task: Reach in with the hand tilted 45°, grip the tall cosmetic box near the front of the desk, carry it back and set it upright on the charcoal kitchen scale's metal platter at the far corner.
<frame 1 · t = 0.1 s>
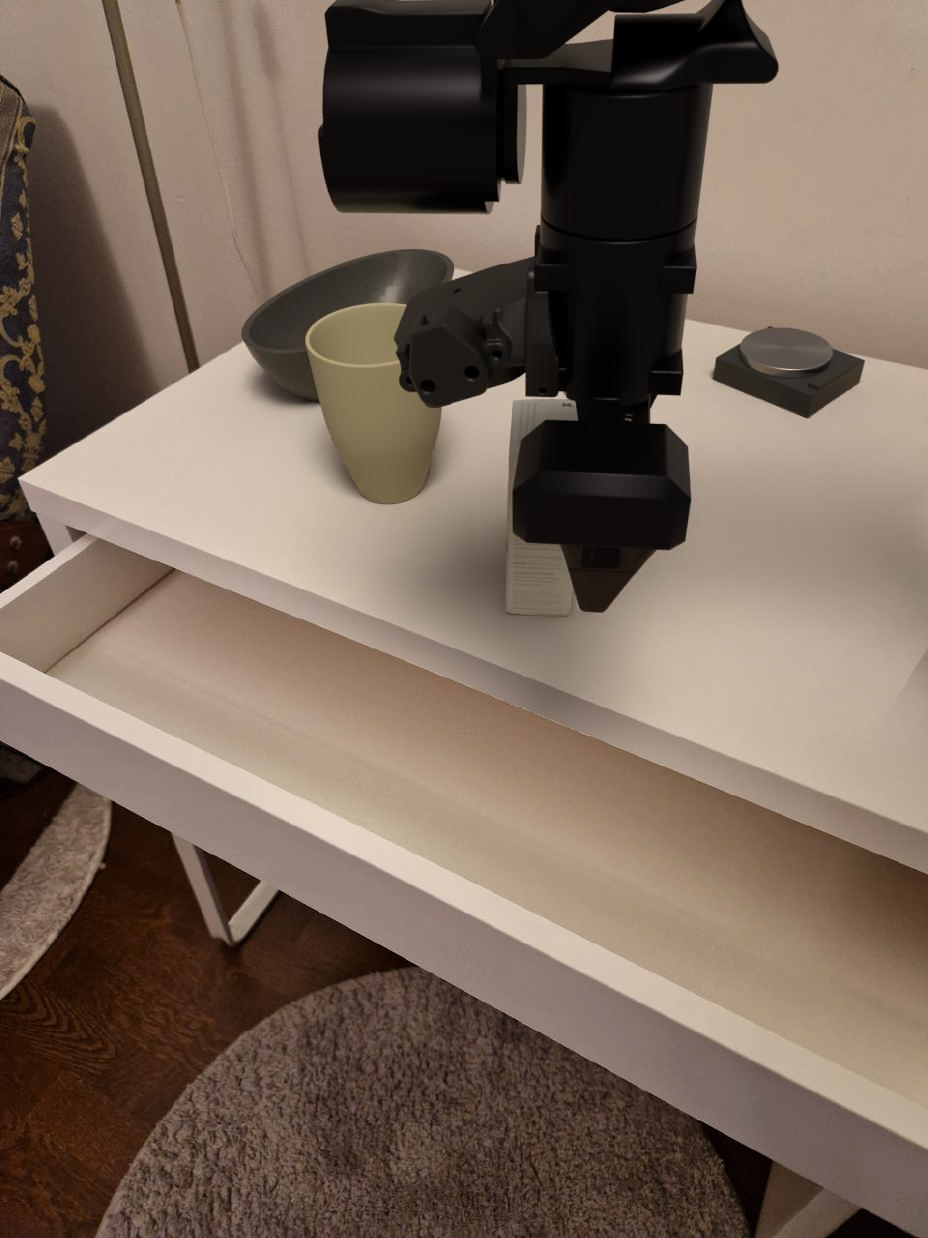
hand: (595, 545, 46), 12 cm above the table, tool pointing down, fingers open, 9 cm apart
olive green cup: (386, 479, 72), on the table
bowl: (361, 366, 85), on the table
cosmetic box: (542, 589, 62), on the table
scale: (785, 380, 80), on the table
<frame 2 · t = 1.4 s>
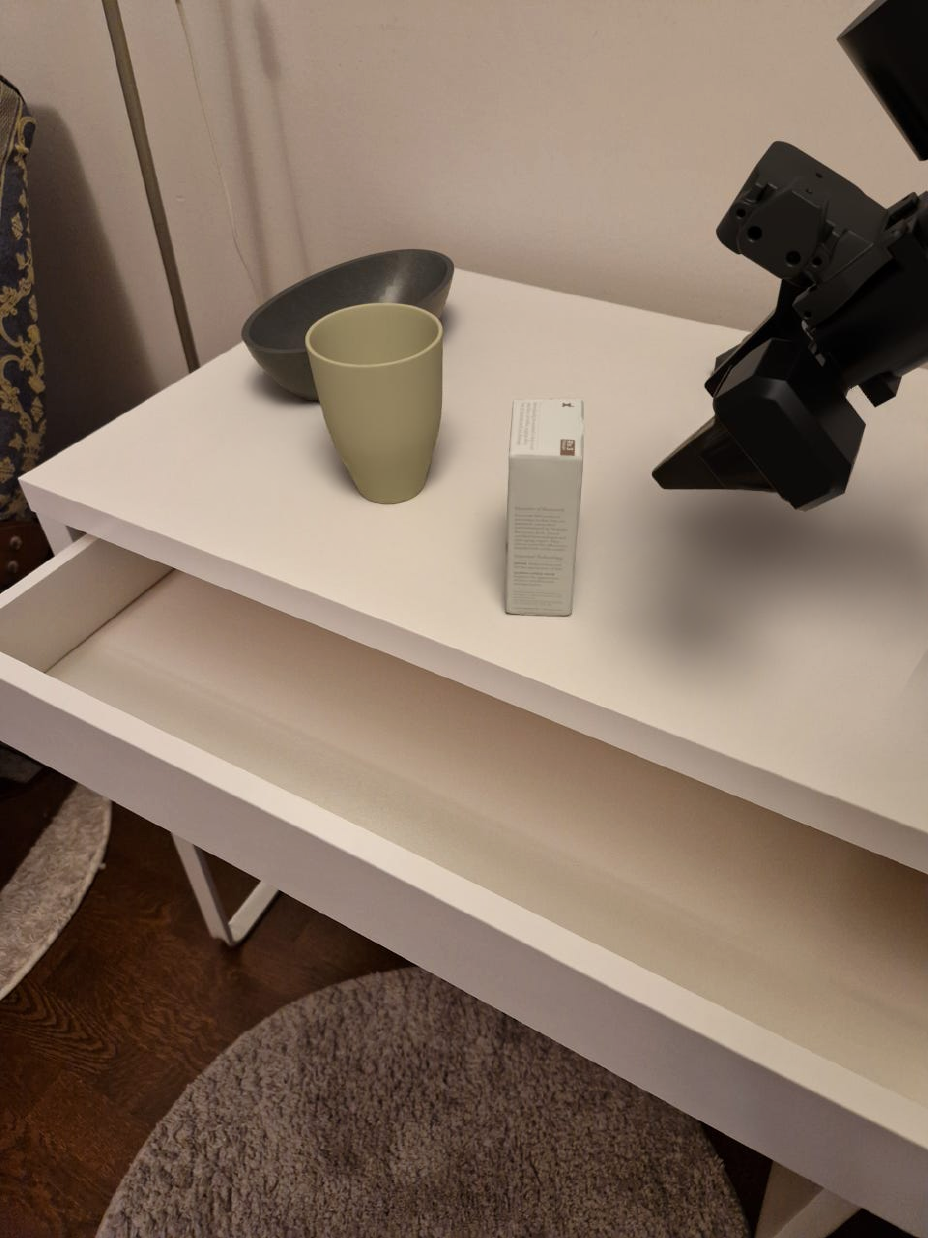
hand: (684, 433, 50), 13 cm above the table, tool tilted 45°, fingers open, 9 cm apart
nothing on the table moved.
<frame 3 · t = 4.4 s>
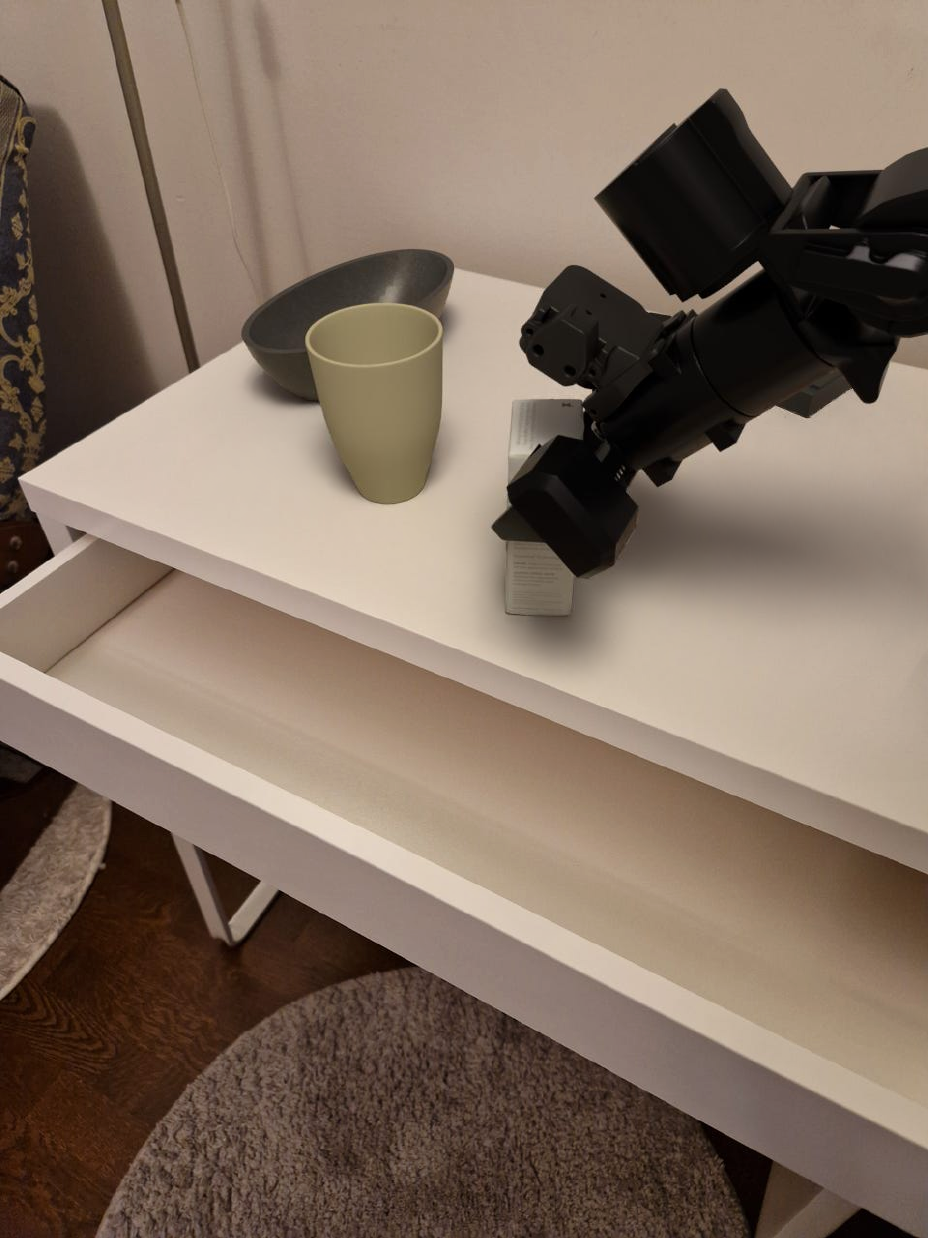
hand: (522, 498, 58), 7 cm above the table, tool tilted 45°, fingers closed on cosmetic box, 7 cm apart
cosmetic box: (542, 589, 62), on the table, touching gripper
everything else where it was.
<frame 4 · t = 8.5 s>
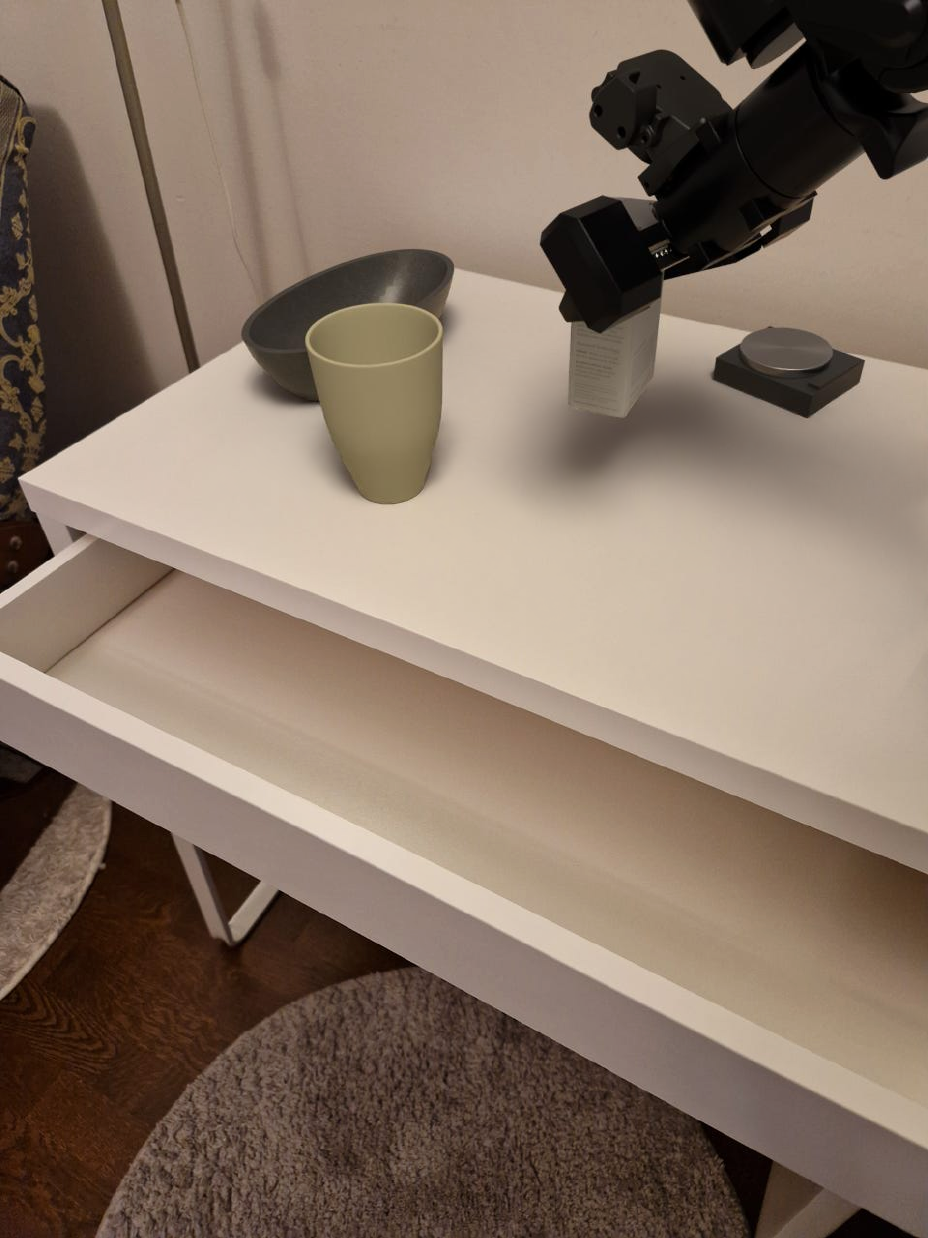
hand: (601, 295, 62), 14 cm above the table, tool tilted 45°, fingers closed on cosmetic box, 7 cm apart
cosmetic box: (612, 397, 66), point 7 cm above the table, touching gripper
everything else where it was.
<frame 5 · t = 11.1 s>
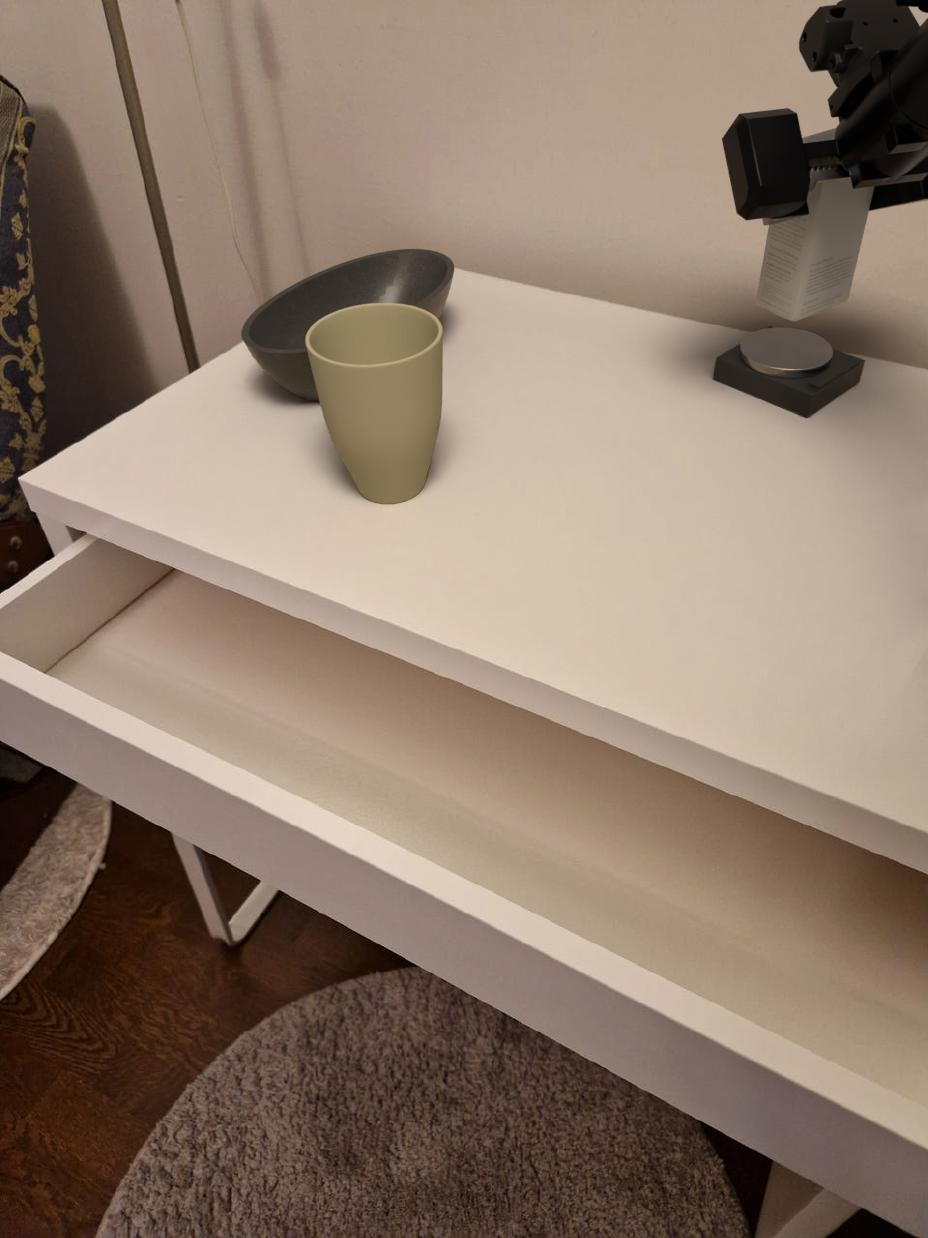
hand: (809, 212, 72), 13 cm above the table, tool tilted 45°, fingers closed on cosmetic box, 7 cm apart
cosmetic box: (800, 308, 75), point 6 cm above the table, touching gripper
everything else where it was.
when the fingers open (9 cm above the table, at t = 12.9 s): cosmetic box stays where it is, resting on scale.
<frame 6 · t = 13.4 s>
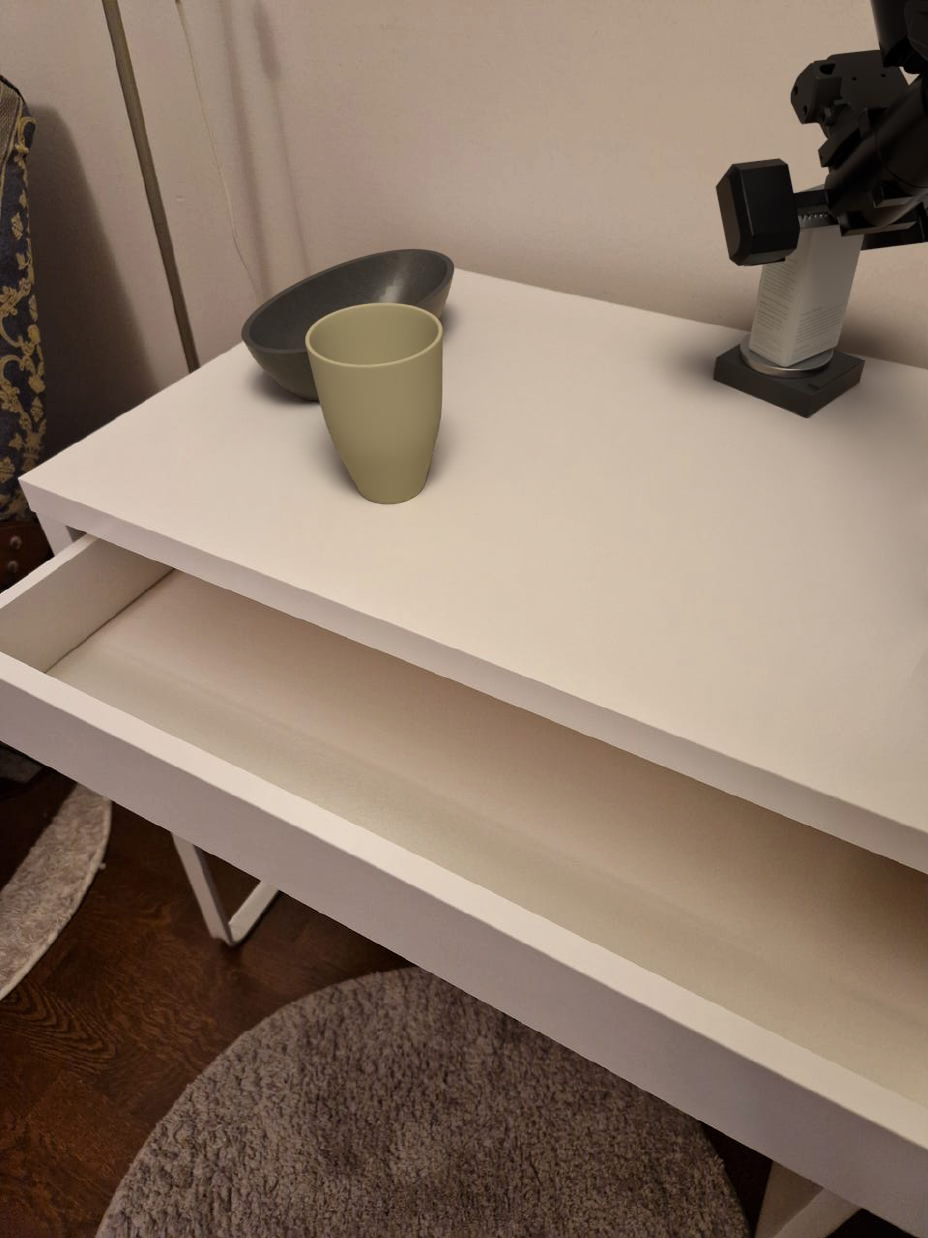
hand: (801, 251, 74), 10 cm above the table, tool tilted 45°, fingers open, 9 cm apart
cosmetic box: (791, 352, 78), point 3 cm above the table, touching scale
everything else where it was.
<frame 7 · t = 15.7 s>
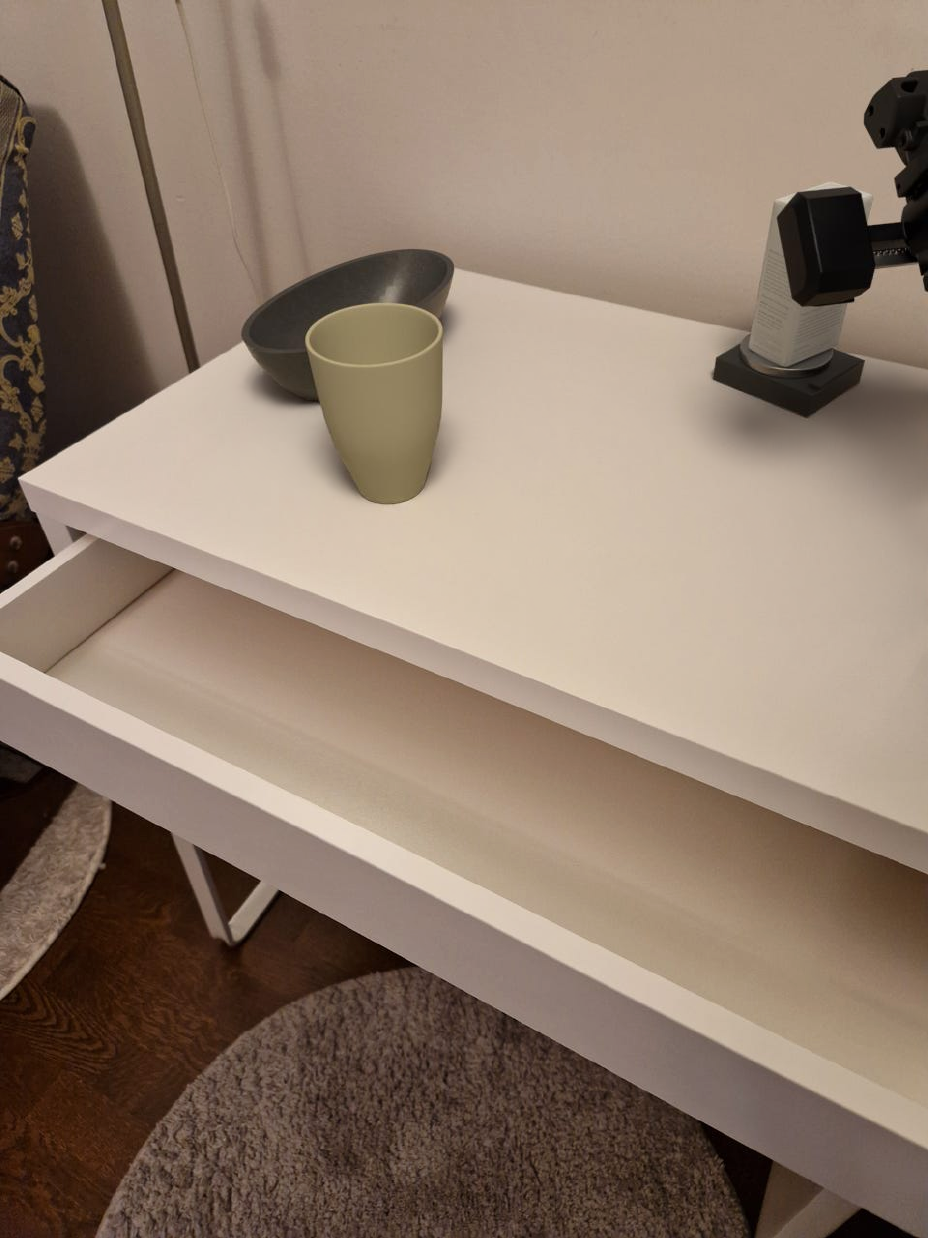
hand: (864, 291, 66), 11 cm above the table, tool tilted 45°, fingers open, 9 cm apart
nothing on the table moved.
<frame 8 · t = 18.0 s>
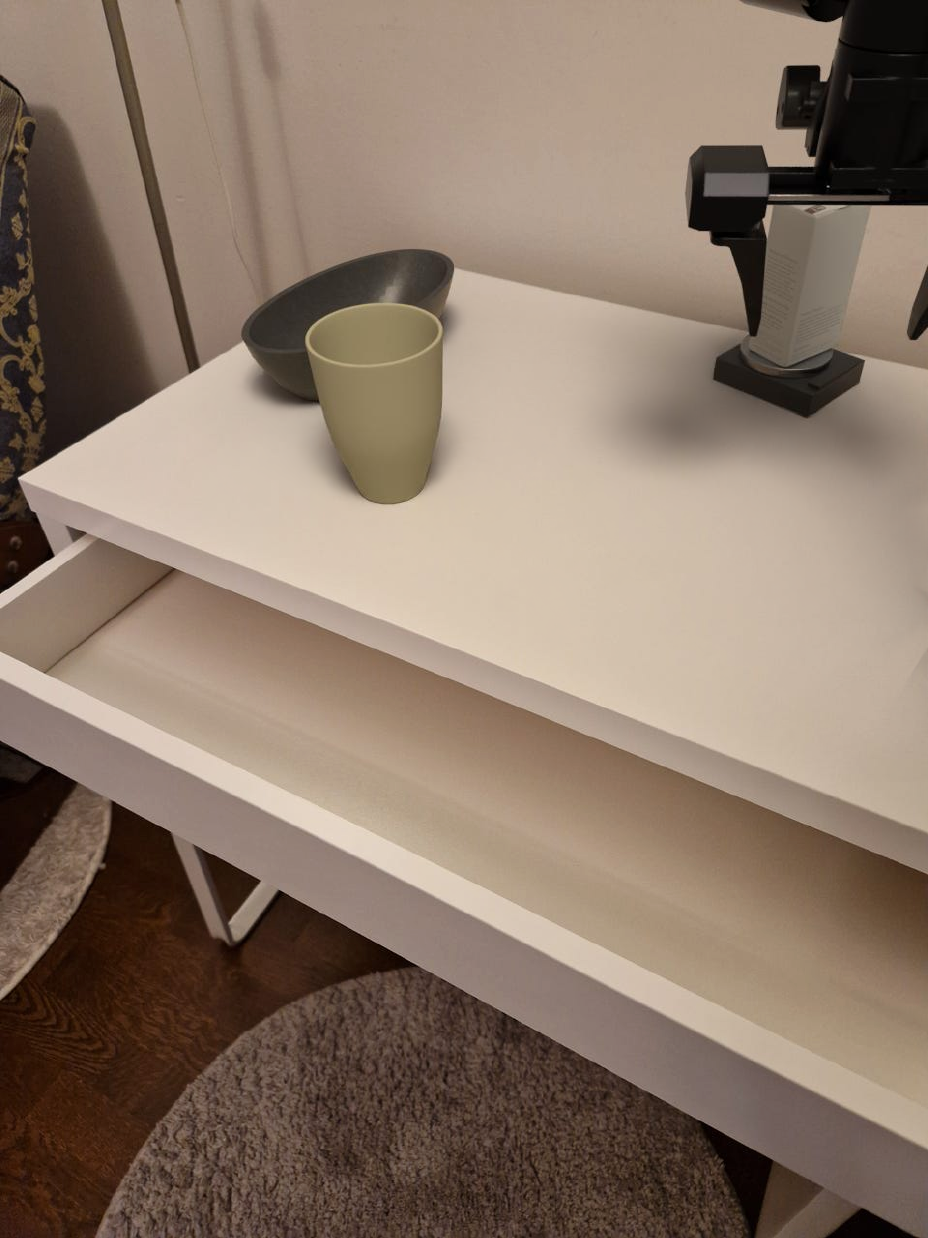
hand: (830, 335, 58), 13 cm above the table, tool pointing down, fingers open, 9 cm apart
nothing on the table moved.
at the end: cosmetic box inside the target area on the scale (0.1 cm from its centre), point 2.6 cm above the scale's base; cosmetic box tilted 0°; the gripper is holding nothing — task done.
